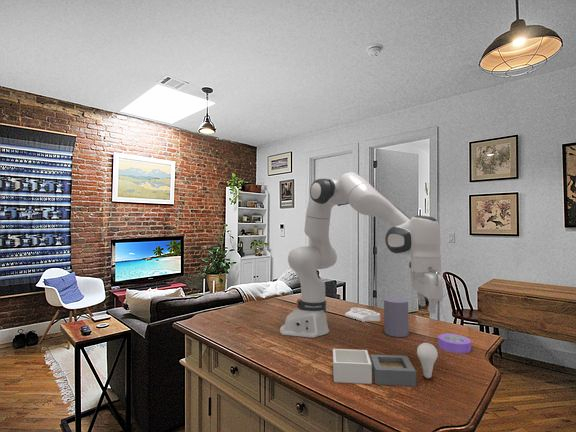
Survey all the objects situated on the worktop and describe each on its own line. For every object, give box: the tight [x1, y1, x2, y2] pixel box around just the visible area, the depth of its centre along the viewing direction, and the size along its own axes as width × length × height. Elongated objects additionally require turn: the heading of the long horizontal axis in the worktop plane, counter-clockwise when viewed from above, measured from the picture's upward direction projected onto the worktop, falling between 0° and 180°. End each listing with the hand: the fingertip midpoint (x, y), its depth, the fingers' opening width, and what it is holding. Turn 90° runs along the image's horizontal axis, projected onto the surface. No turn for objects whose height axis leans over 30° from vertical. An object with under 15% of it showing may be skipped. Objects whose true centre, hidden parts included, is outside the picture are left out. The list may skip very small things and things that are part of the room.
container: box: [383, 297, 410, 338], centre depth 150 cm, size 10×10×15 cm
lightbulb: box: [416, 342, 439, 379], centre depth 107 cm, size 6×6×11 cm
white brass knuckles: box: [344, 307, 381, 323], centre depth 176 cm, size 3×18×15 cm
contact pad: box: [379, 362, 403, 368], centre depth 108 cm, size 7×7×1 cm
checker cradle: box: [370, 354, 417, 387], centre depth 108 cm, size 12×12×4 cm
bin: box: [332, 348, 373, 385], centre depth 110 cm, size 12×12×6 cm
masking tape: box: [437, 333, 472, 354], centre depth 133 cm, size 12×12×4 cm
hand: (426, 309), depth 107 cm, fingers open, 8 cm apart
